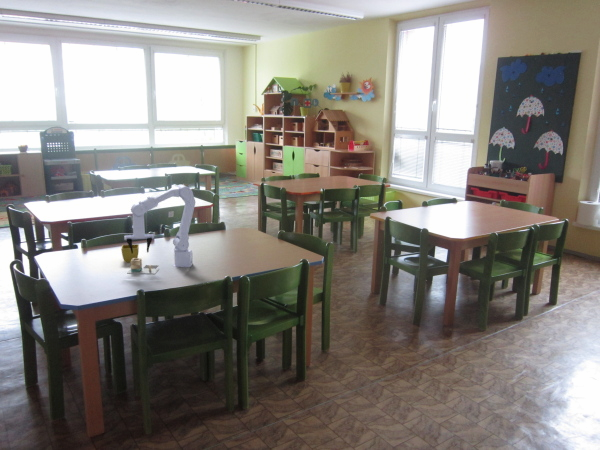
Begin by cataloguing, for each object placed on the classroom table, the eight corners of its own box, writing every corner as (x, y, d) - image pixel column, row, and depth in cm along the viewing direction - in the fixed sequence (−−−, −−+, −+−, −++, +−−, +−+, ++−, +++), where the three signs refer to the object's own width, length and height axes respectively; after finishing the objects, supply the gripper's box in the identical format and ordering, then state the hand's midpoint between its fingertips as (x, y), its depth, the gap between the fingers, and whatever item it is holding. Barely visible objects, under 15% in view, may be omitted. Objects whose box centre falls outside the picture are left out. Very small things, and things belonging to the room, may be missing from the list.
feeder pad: (158, 266, 262) (158, 265, 262) (155, 269, 257) (155, 268, 256) (146, 266, 262) (145, 265, 262) (142, 269, 256) (142, 268, 256)
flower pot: (121, 264, 264) (121, 248, 262) (123, 260, 272) (122, 244, 270) (138, 263, 266) (138, 248, 264) (139, 259, 274) (138, 244, 272)
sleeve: (141, 269, 254) (141, 258, 252) (139, 271, 249) (139, 260, 248) (133, 269, 253) (132, 258, 252) (131, 271, 249) (130, 260, 248)
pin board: (159, 270, 256) (158, 263, 255) (154, 275, 248) (154, 267, 247) (132, 269, 255) (132, 262, 255) (127, 274, 248) (126, 267, 247)
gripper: (153, 224, 256) (154, 249, 259) (123, 226, 251) (125, 251, 254) (153, 227, 249) (154, 253, 252) (123, 229, 245) (125, 254, 248)
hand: (140, 252), depth 253 cm, fingers open, 7 cm apart
